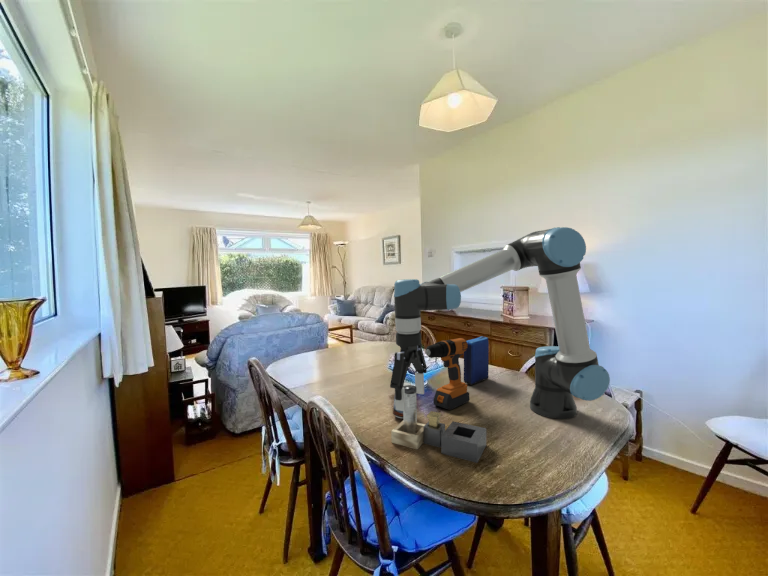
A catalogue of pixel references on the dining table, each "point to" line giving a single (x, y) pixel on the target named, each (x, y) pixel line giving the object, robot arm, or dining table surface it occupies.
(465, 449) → the socket block
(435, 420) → the tan wooden peg
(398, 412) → the beverage can
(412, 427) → the capped tube
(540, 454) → the dining table surface
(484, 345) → the book
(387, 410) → the dining table surface
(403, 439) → the wooden tray
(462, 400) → the power drill
